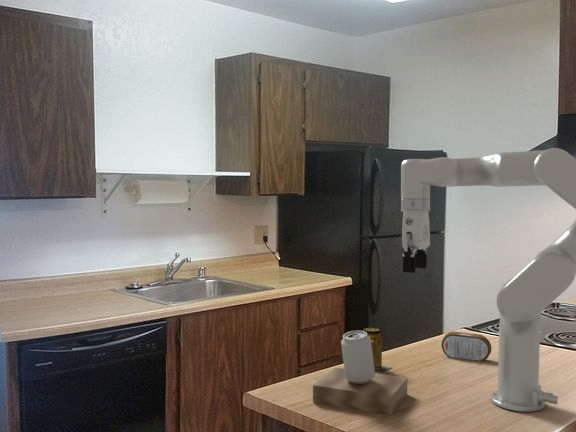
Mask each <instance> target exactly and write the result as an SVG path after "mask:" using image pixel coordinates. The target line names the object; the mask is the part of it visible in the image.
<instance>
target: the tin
mask: <svg viewBox="0 0 576 432" xmlns="http://www.w3.org/2000/svg"><path fill="white" fill-rule="evenodd" d="M441 350H442V353H444V355H445V356H446V357H448V358H450V359H458V360H465V361H466V360H467V361H473V360H477V361H476V362H484V361H486V360H487V359H488V358H489V356H490V355H491V354H492V344H491V342H490V341H489V339H488V338H487V337H486V336H484V335H482V334H478V333H469V332H460V331H450V332H448V333H446V334H444V336H443V337H442V341H441ZM478 360H479V361H478Z"/></svg>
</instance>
